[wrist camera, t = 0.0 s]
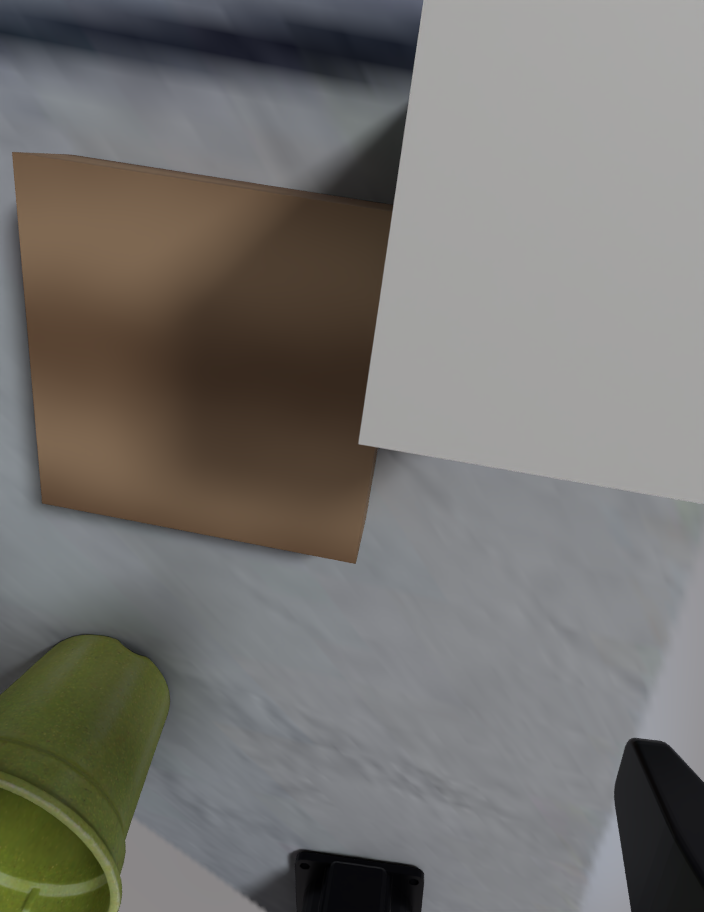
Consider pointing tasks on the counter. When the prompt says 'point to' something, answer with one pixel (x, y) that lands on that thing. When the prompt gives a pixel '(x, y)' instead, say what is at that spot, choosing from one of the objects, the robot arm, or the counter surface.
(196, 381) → the walnut block
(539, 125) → the tea tin
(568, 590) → the counter surface
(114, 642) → the plant pot
